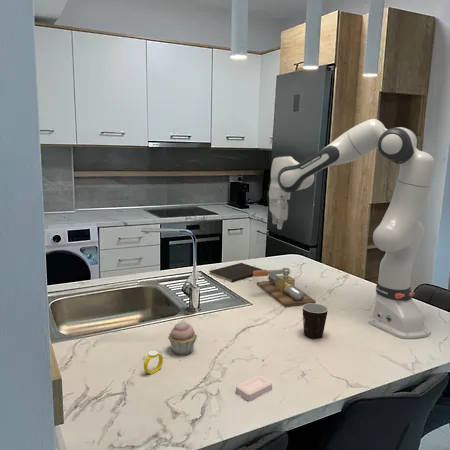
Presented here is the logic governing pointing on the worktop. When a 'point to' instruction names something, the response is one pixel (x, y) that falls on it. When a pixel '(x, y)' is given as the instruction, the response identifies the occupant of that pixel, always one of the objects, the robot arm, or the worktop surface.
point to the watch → (150, 355)
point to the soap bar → (253, 387)
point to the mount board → (283, 295)
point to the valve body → (286, 286)
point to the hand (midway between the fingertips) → (277, 226)
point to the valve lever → (270, 272)
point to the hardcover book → (234, 272)
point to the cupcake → (182, 338)
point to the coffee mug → (314, 320)
